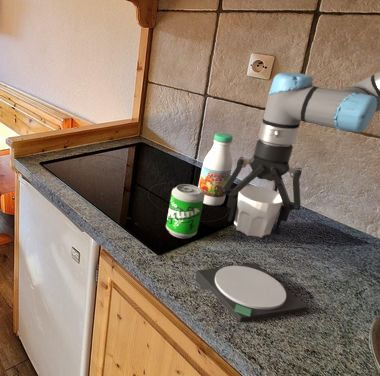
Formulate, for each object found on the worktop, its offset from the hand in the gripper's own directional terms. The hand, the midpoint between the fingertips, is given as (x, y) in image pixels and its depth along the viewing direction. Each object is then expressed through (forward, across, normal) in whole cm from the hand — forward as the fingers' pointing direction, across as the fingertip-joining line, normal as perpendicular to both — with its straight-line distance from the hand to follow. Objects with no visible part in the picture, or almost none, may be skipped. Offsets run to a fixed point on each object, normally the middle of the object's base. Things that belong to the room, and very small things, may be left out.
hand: (252, 224), depth 104 cm
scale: (+1, +3, -30) cm, 30 cm away
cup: (+1, 0, 0) cm, 1 cm away
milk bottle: (+1, -13, +11) cm, 17 cm away
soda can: (+1, -15, -12) cm, 19 cm away
